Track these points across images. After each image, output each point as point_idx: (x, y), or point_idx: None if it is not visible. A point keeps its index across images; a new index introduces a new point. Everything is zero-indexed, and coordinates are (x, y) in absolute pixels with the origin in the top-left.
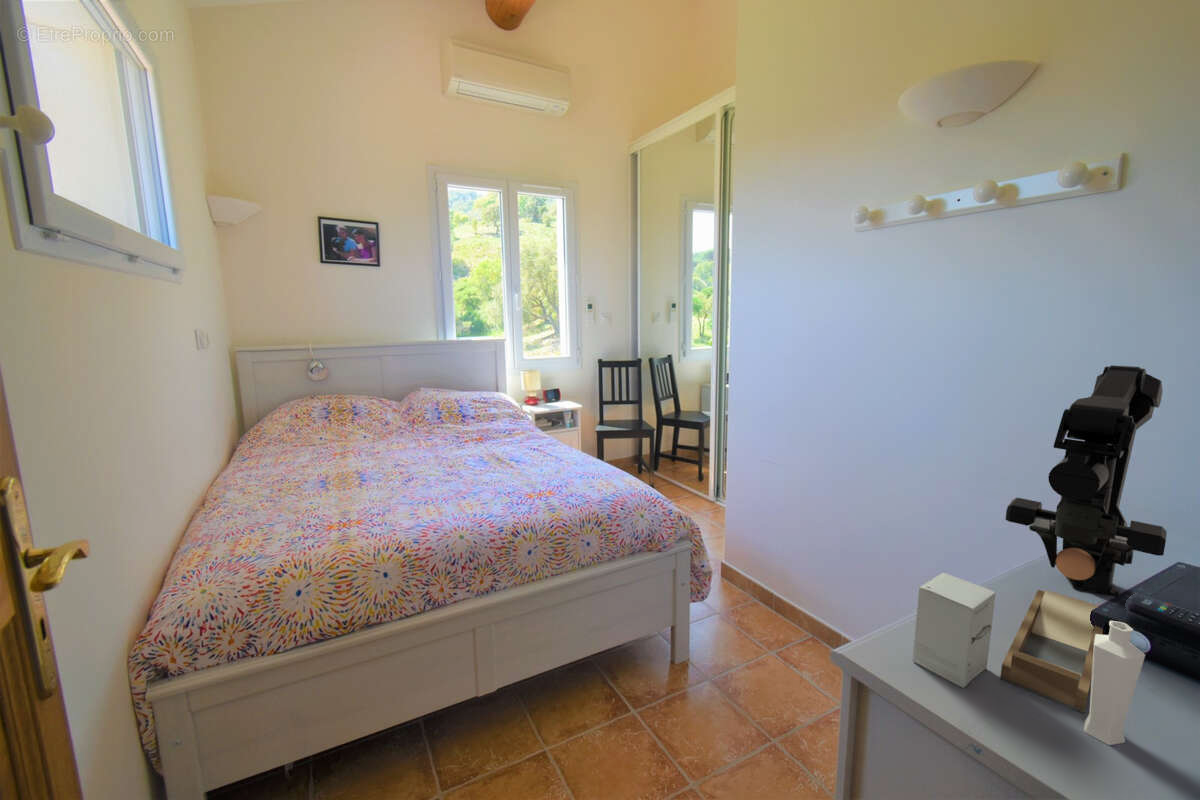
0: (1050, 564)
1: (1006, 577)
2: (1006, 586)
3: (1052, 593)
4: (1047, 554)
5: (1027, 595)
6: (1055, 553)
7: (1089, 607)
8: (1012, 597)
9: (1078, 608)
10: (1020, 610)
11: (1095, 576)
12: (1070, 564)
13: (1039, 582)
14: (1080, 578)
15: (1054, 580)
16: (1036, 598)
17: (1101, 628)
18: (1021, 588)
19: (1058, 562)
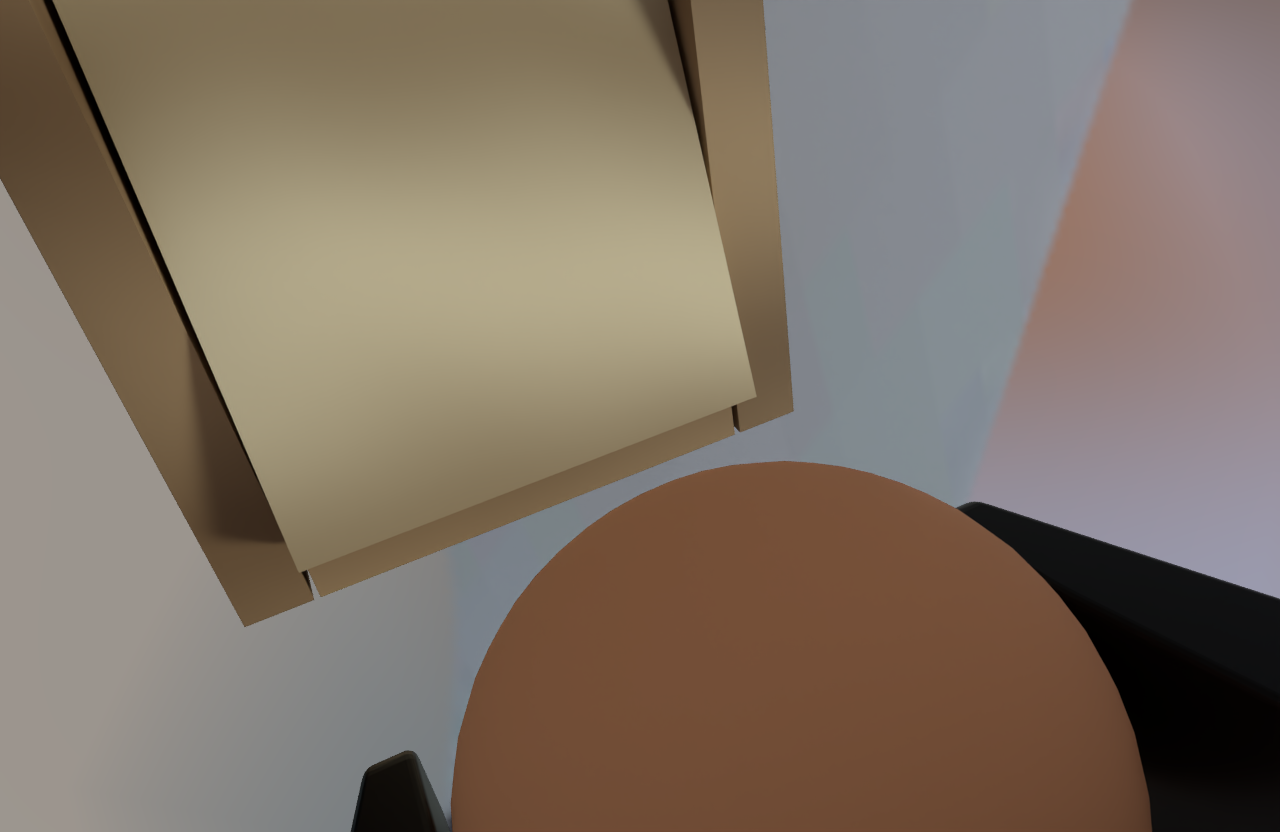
0: (1016, 515)
1: (959, 497)
2: (937, 373)
3: (689, 394)
4: (1242, 589)
5: (799, 384)
6: (1147, 732)
7: (344, 468)
8: (872, 240)
9: (410, 364)
10: (773, 56)
11: (406, 787)
12: (878, 606)
13: None
14: (558, 555)
15: None
16: (759, 214)
17: (11, 150)
18: (855, 446)
19: (1016, 557)
